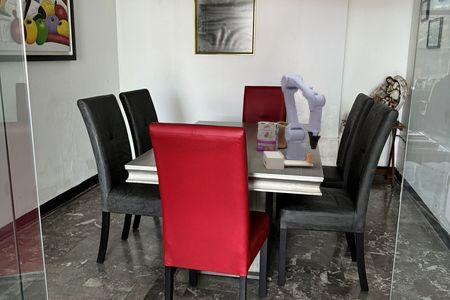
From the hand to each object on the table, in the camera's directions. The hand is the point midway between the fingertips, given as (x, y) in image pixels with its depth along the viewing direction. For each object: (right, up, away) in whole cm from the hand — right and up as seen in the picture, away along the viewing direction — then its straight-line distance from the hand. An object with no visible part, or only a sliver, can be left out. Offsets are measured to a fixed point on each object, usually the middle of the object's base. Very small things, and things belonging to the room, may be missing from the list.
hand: (312, 147), depth 195 cm
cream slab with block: (-7, -8, +1) cm, 11 cm away
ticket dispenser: (-19, -9, +1) cm, 21 cm away
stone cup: (-10, +1, +45) cm, 46 cm away
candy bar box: (-19, -2, +32) cm, 37 cm away
